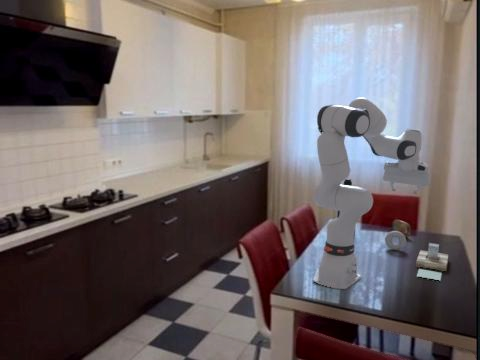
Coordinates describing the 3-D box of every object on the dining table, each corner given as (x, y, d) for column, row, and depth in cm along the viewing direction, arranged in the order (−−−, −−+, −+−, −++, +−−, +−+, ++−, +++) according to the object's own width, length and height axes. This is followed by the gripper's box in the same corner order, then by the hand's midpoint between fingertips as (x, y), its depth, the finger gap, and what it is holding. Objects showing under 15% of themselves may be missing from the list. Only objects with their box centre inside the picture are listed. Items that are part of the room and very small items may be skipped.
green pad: (440, 281, 160) (440, 280, 160) (416, 277, 165) (416, 275, 164) (441, 274, 168) (441, 272, 168) (418, 270, 172) (419, 268, 172)
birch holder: (446, 272, 170) (446, 265, 170) (416, 266, 176) (416, 260, 175) (447, 260, 184) (448, 254, 183) (419, 255, 190) (420, 250, 189)
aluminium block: (436, 265, 177) (438, 246, 176) (427, 264, 179) (428, 245, 178) (437, 263, 181) (439, 244, 179) (427, 261, 182) (429, 243, 181)
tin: (391, 231, 230) (391, 217, 228) (395, 231, 230) (396, 217, 229) (406, 239, 215) (407, 224, 214) (411, 239, 215) (412, 224, 214)
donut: (405, 250, 198) (406, 231, 196) (405, 252, 195) (406, 233, 193) (384, 247, 201) (385, 229, 200) (384, 249, 198) (385, 230, 197)
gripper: (383, 162, 182) (380, 190, 186) (431, 168, 173) (427, 197, 177) (385, 160, 187) (382, 187, 191) (432, 165, 178) (428, 193, 182)
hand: (404, 192), depth 184 cm, fingers open, 8 cm apart
